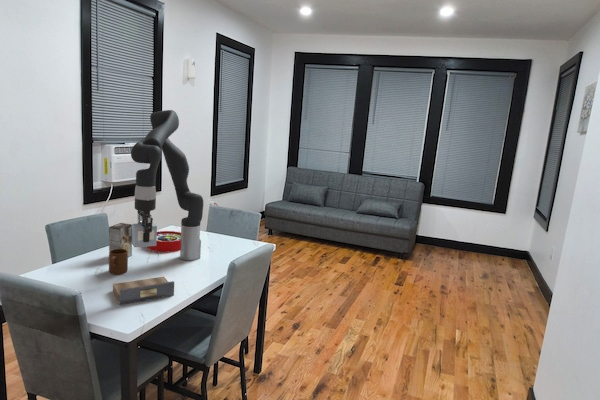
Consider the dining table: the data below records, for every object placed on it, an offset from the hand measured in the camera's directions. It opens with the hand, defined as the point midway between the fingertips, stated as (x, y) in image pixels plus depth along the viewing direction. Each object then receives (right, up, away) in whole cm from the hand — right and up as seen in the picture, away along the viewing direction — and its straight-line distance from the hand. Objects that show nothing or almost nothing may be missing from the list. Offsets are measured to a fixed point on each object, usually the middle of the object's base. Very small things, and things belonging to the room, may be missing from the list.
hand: (144, 239), depth 156 cm
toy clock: (-11, -10, +61) cm, 63 cm away
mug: (-20, -17, +20) cm, 33 cm away
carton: (0, -2, 0) cm, 2 cm away
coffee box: (-27, -13, +39) cm, 49 cm away
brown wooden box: (-2, -22, +4) cm, 22 cm away
